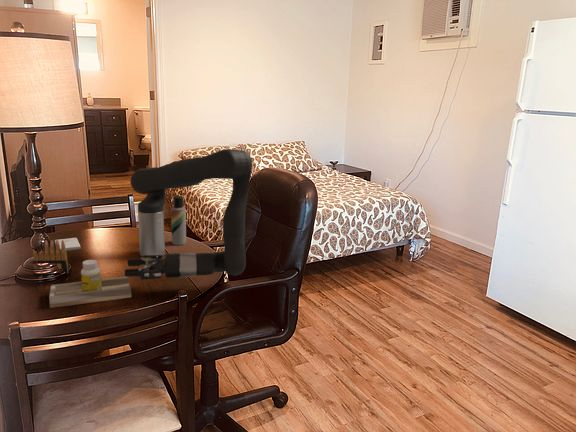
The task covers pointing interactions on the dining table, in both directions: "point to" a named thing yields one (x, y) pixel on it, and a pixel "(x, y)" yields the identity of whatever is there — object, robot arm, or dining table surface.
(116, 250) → the dining table surface
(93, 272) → the supplement bottle
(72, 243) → the external hard drive
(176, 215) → the lotion bottle
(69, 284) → the track
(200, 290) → the dining table surface
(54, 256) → the ammunition clip
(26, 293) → the dining table surface
